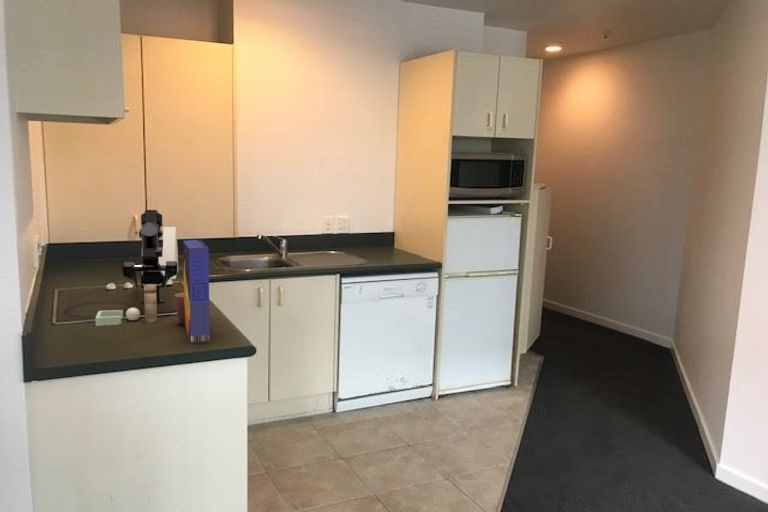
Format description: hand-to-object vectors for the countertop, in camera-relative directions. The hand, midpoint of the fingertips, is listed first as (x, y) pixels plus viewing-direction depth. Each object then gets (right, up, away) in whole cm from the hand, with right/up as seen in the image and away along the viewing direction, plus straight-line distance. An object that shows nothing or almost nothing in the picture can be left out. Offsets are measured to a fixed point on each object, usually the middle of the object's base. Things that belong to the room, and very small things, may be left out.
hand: (150, 287), depth 219 cm
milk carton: (-29, +1, +90) cm, 95 cm away
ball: (-5, -9, -3) cm, 11 cm away
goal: (-12, -12, -5) cm, 18 cm away
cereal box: (+22, -15, -18) cm, 32 cm away
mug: (+16, -12, -3) cm, 21 cm away
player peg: (+1, -12, -3) cm, 12 cm away
